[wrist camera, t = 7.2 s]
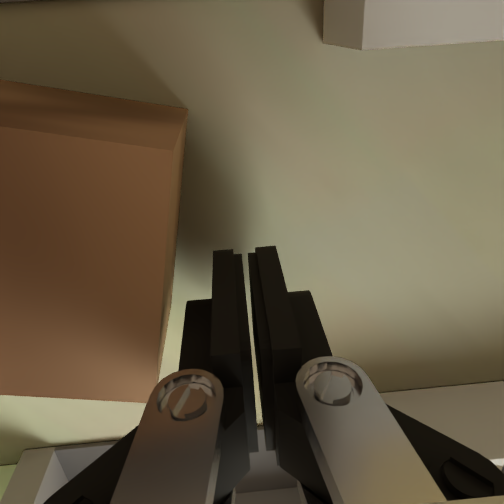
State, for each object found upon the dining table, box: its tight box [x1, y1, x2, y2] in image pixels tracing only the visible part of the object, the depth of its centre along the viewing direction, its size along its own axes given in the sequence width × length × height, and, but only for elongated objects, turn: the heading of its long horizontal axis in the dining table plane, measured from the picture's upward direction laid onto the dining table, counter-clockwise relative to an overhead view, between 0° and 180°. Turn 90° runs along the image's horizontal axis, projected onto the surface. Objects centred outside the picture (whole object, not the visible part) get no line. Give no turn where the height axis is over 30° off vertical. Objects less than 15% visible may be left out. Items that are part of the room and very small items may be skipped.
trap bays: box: [0, 0, 302, 504], centre depth 11 cm, size 12×25×2 cm, turn 3°
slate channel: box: [0, 0, 504, 501], centre depth 11 cm, size 29×18×4 cm, turn 93°
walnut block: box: [0, 80, 188, 403], centre depth 10 cm, size 6×6×4 cm
